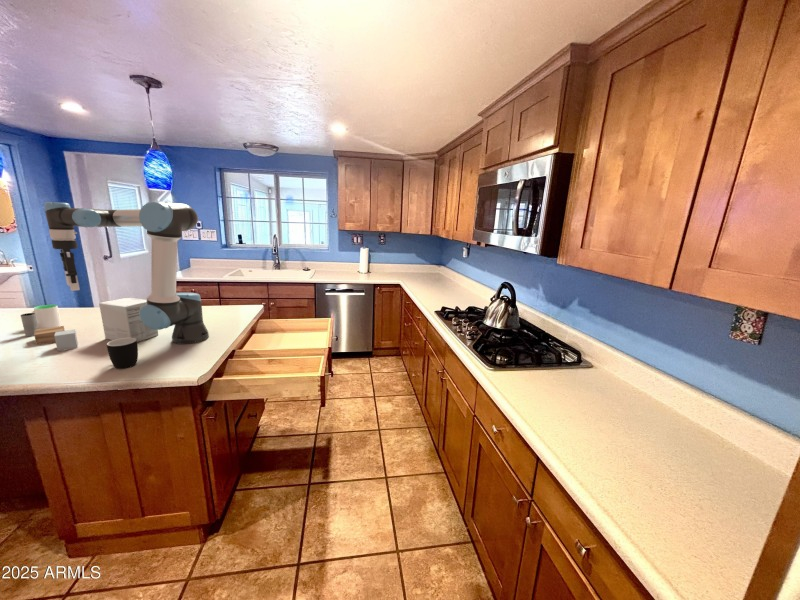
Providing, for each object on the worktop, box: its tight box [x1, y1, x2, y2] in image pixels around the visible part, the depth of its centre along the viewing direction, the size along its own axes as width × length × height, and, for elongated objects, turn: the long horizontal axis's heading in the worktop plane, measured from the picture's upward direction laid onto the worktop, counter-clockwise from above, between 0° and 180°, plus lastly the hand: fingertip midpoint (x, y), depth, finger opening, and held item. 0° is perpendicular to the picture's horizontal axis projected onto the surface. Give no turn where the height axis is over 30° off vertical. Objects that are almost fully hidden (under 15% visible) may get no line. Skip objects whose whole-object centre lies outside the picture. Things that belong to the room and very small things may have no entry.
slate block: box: [54, 329, 79, 352], centre depth 138 cm, size 6×6×7 cm
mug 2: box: [28, 304, 62, 329], centre depth 160 cm, size 12×8×10 cm, turn 160°
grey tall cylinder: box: [20, 312, 40, 337], centre depth 150 cm, size 4×4×10 cm
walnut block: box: [33, 325, 66, 345], centre depth 146 cm, size 9×9×5 cm
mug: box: [106, 338, 139, 370], centre depth 125 cm, size 12×9×10 cm
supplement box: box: [98, 297, 159, 343], centre depth 152 cm, size 17×13×18 cm
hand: (73, 287), depth 141 cm, fingers open, 13 cm apart
